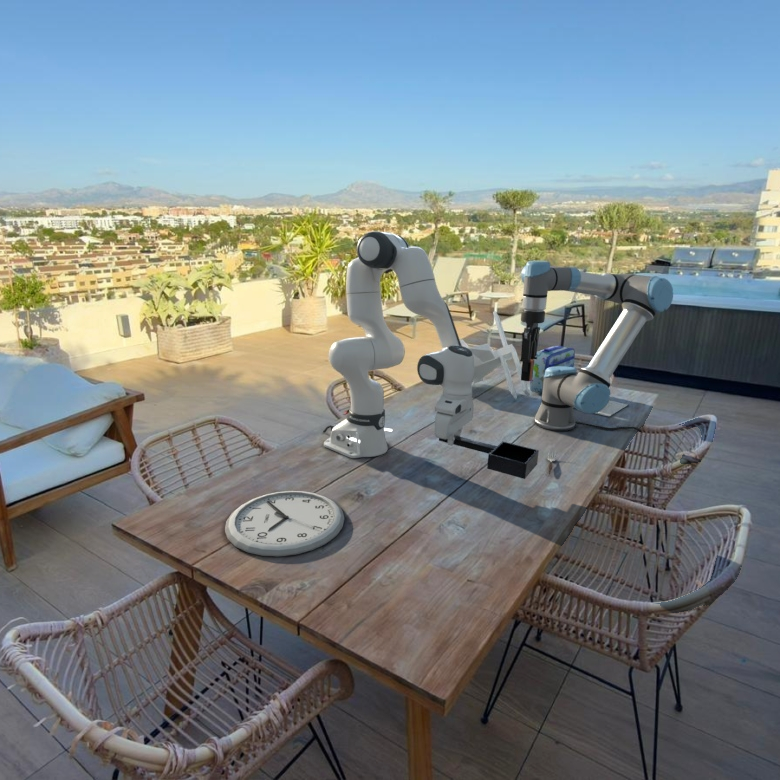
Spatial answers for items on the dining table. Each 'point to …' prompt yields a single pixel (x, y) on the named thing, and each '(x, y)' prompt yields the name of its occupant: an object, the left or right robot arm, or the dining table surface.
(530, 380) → the peg
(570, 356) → the lunch box
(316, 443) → the dining table surface
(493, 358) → the white plastic object
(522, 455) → the pan
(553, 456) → the fork
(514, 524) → the dining table surface
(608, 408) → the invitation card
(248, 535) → the wall clock
